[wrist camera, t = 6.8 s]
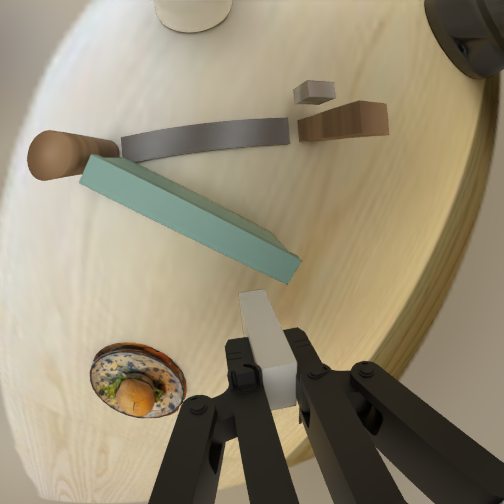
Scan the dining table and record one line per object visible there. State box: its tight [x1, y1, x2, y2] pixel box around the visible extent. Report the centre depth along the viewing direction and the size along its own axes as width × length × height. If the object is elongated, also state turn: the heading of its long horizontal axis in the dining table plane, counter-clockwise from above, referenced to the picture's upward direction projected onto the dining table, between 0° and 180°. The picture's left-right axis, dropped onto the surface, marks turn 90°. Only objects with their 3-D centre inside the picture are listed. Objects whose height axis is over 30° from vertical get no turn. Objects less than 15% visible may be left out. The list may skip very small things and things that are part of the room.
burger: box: [90, 343, 186, 418], centre depth 27 cm, size 12×12×8 cm
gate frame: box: [27, 80, 389, 181], centre depth 18 cm, size 21×4×11 cm, turn 96°
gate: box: [79, 154, 302, 284], centre depth 20 cm, size 14×2×8 cm, turn 61°
